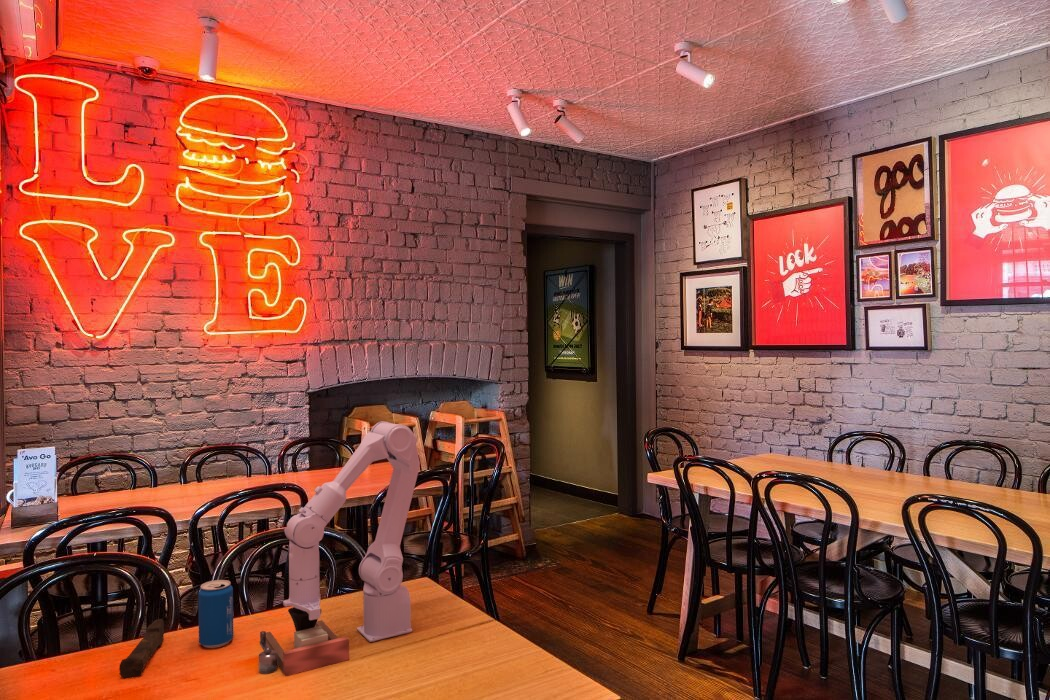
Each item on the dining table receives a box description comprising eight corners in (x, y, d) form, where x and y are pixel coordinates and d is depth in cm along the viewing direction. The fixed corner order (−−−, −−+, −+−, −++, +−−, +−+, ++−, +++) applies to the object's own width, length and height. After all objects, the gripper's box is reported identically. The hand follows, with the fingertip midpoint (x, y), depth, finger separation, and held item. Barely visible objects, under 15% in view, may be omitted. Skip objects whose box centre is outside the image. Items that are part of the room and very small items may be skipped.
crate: (319, 651, 138) (319, 625, 138) (328, 660, 134) (328, 633, 134) (294, 657, 136) (294, 631, 135) (302, 667, 131) (301, 640, 131)
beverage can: (220, 650, 139) (219, 590, 139) (191, 648, 140) (191, 588, 140) (240, 637, 145) (239, 580, 145) (212, 635, 147) (211, 578, 147)
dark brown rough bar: (142, 678, 128) (142, 653, 128) (118, 680, 127) (118, 654, 127) (176, 637, 147) (176, 614, 147) (155, 638, 146) (155, 616, 146)
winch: (271, 658, 135) (270, 629, 135) (279, 670, 130) (278, 640, 130) (253, 662, 133) (253, 633, 133) (261, 675, 128) (260, 644, 128)
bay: (321, 629, 149) (321, 610, 149) (349, 659, 134) (348, 638, 134) (263, 642, 143) (263, 623, 142) (285, 676, 128) (284, 654, 128)
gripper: (274, 569, 142) (275, 636, 142) (293, 590, 130) (294, 663, 130) (309, 563, 146) (310, 628, 146) (331, 583, 134) (331, 653, 134)
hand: (305, 644), depth 138 cm, fingers closed
